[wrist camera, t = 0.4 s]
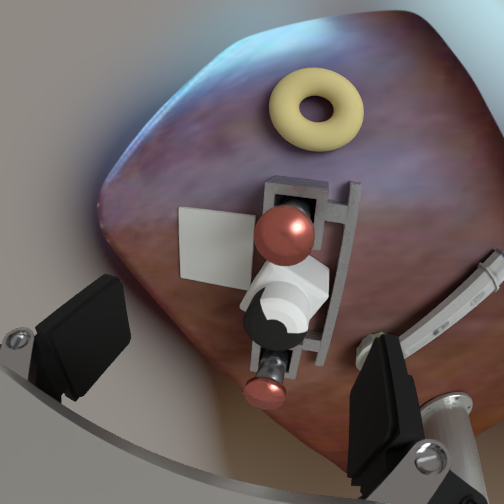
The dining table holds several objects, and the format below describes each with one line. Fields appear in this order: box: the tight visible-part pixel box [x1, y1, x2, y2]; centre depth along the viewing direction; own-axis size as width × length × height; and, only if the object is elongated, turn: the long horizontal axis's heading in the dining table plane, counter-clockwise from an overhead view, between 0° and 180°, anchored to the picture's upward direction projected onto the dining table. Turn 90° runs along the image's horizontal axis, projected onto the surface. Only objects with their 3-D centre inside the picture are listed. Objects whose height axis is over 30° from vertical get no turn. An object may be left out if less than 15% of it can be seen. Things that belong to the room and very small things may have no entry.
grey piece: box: [356, 248, 504, 371], centre depth 31 cm, size 5×7×25 cm
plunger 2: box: [243, 349, 290, 410], centre depth 32 cm, size 5×5×8 cm
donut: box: [269, 68, 364, 152], centre depth 28 cm, size 10×5×9 cm
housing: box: [250, 176, 362, 379], centre depth 33 cm, size 25×10×6 cm, turn 176°
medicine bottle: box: [240, 255, 329, 351], centre depth 31 cm, size 7×7×12 cm
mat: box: [179, 207, 256, 290], centre depth 38 cm, size 10×10×1 cm
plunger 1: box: [254, 197, 315, 266], centre depth 25 cm, size 5×5×8 cm
